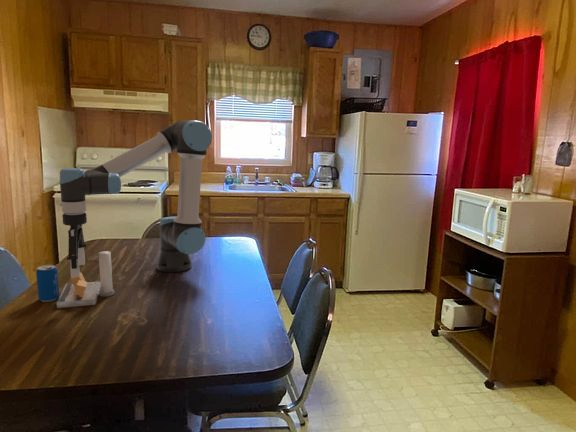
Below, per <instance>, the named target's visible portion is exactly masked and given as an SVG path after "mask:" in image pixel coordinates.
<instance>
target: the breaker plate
mask: <svg viewBox="0 0 576 432" xmlns="http://www.w3.org/2000/svg"><path fill="white" fill-rule="evenodd" d="M87 282H88V283H87V286H86V289H85V292H84V294H83V297H79V298H76V296H73V295H74V292H75V287H74V285H73V283H65V285H64V287H63V289H62V291H61V293H60V294H59V297H58V298H57V300H56V308H57V309H60V308H62V309H63V308H73V307H74V308H75V307H82V306H83V307H84V306H94V305H97V302H98V301H97V300H98V297H99V292H100V291H101V284H100V281H91V282H89V281H87Z"/></svg>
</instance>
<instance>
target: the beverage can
mask: <svg viewBox="0 0 576 432" xmlns="http://www.w3.org/2000/svg"><path fill="white" fill-rule="evenodd" d="M35 273H36V281H37V282H36V283H37V284H36V285H37V293H38V300H39V301H41V302H42V303H51V302H54V301H57V300H58V299H59V297H60V284H59V274H58V268H57V266H56V265H54V264H45V265H40V266H38V267H37V269H36V271H35Z"/></svg>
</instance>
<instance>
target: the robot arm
mask: <svg viewBox="0 0 576 432" xmlns="http://www.w3.org/2000/svg"><path fill="white" fill-rule="evenodd" d="M212 141H213V133H212V131H211V129H210V127H209V126H208V125H207V124H206V123H205V122H204V121H200V120H196V119H195V120H194V119H190V120H185V119H184V120H178V121H175V122H174V123H172V124H169V125H168V126H167V127H164V128H163V129H161V130H160V131H159V130H158V132H157V133H156V135H155V136H153V137H151V138H150V139H148V140H146V141H143V143H141V144H139V145H137V146H135V147H133V148H131V149H129V150H127V151H125V152H124V153H121V154H119V155H118V156H116V157H114V158H111V159H110V160H108V161H106V162H104V163H102V164H100V165H99V166H96V167H95V168H90V169H86V170H85V171H84V169H83V168H78V167H76V168H75V167H74V168H73V167H66V168H62V169H61V170H60V171H59V187H60V188H59V189H60V199H61V203H59V206H60V207H61V212H62V216H61V217H62V224H63V225H64V226H70V227H69V229H68V230H67V233H68V251H67V253H68V254H67V255H68V256H67V257H66V260H67V261H68V260H69V268H70V278H72V277H80V272H81V271H80V266H85V265H86V260H85V257H86V256H85V248H86V247H87V244H86V243H85V237H84V232H83V225H85V224H86V223H87V222H88V221H87V220H88V219H87V213H86V211H87V200H86V196H98V195H113V194H119V193H120V192H121V190H122V181H121V180H122V179H121V177H123V176H126V175H127V174H129V173H131V172H133V171H134V170H136V169H138V168H140V167H142V166H144V165H145V164H147V163H149V162H151V161H153V160H155V159H157V158H158V157H160V156H162V155H164V154H166V153H167V154H171V153H173V152H175V151H176V154H177V155H178V157H179V158H180V159H179V160H180V161H179V162H180V163H179V177H178V179H179V181H178V183H179V184H178V195H177V196H178V199H177V214H176V215H177V216H168V217H162V218H161V219H160V220H159V225H158V226H159V241H160V242H159V246H160V248H159V249H160V251H159V255H158V258H157V261H156V270H158V271H159V272H163V273H181V272H185V271H188V270H190V269H191V268H192V267H193V266H192V264H193V263H192V259H191V256H190V255H194V254H197V253H198V252H199V251H201V250H202V249H203V247H204V246H205V243H206V234H205V232H204V230H202V227H203V221H202V219H200V217H199V216H200V215H199V214H200V199H201V198H200V197H201V185H202V184H201V182H202V169H203V167H202V166H203V160H204V158H205V157H206V156H207V150H208V149H209V147H210V146H211V144H212Z"/></svg>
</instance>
